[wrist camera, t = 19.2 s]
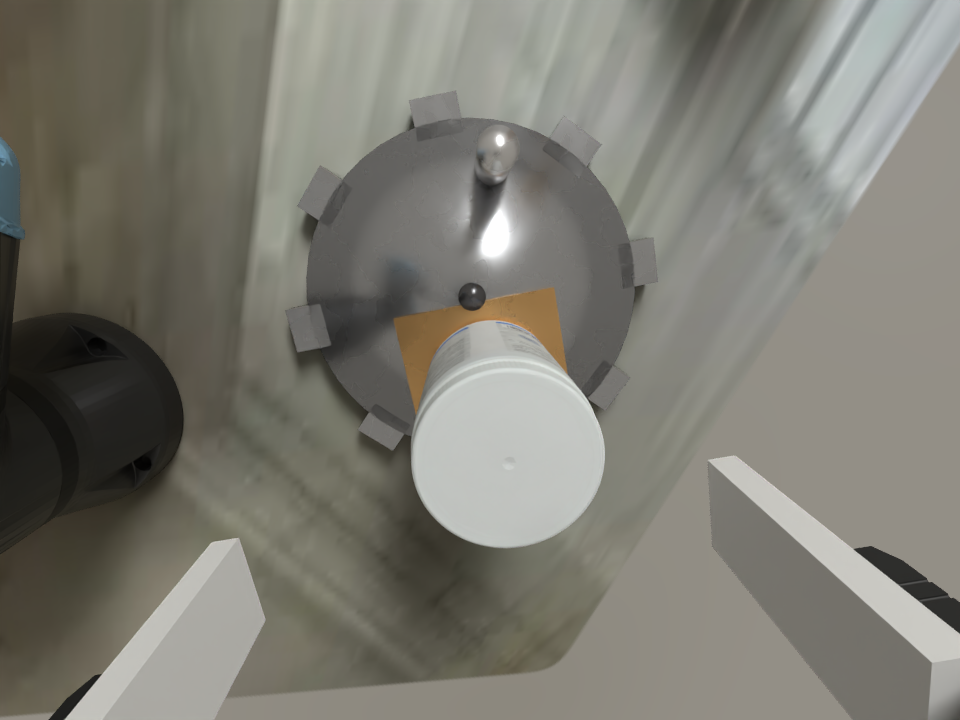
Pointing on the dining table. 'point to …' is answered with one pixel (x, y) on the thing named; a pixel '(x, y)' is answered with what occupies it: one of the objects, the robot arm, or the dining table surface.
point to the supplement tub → (503, 439)
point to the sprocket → (465, 258)
